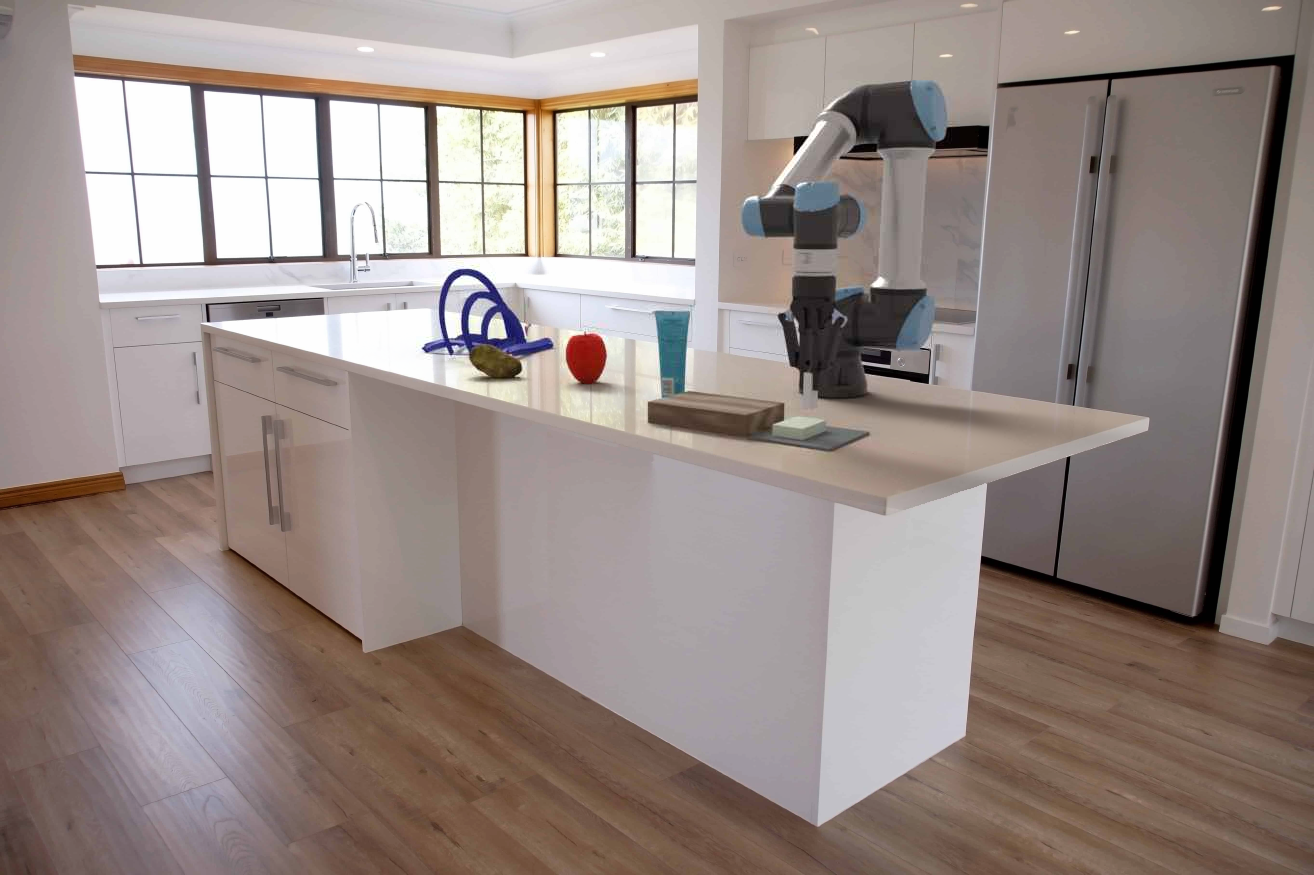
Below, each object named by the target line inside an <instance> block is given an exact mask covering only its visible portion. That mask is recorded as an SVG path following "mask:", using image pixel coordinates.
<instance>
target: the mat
mask: <svg viewBox="0 0 1314 875" xmlns="http://www.w3.org/2000/svg"><path fill="white" fill-rule="evenodd" d="M772 429H773V428H770V429H767V430H764V431H761V432H759V433H756V434H753V435H750V436H747V439H748V440H749V439H750V440H754V441H760V442H765V443H766V442H767V443H771V444H772V443H773V444H780V445H787V446H793V447H800V448H806V449H812V450H821V451H826V452H832V451H833V450H836V449H839V448H840V447H843V446H845V445H847V444H849V443H851V442H855V441H856V440H859V439H861V438H863V437H866V436H868V435H870V433H871V432H870V431H868V430H867V431H866V430H860V429H854V428H853V429H852V428H845V427H844V428H843V427H836V426H831V425H830V426H829V425H826V431H824V432H822V433H819V434H817V435H814V436H811V437H809V438H806V439H804V440H799V439H792V438H785V437H779V436H772Z"/></svg>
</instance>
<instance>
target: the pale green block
mask: <svg viewBox="0 0 1314 875" xmlns="http://www.w3.org/2000/svg"><path fill="white" fill-rule="evenodd" d="M826 426H827V420H826V419H821V418H820V419H819V418H813V417H805V416H799V415H796V416H793V417H790V418H788V419H784V421H782V422H779V423H776V424H773V429H772V436H779V437H785V438H792V439H799V440H804V439H806V438H809V437H811V436H814V435H817V434H819V433H822V432H824V431H826Z"/></svg>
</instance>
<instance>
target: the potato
mask: <svg viewBox="0 0 1314 875" xmlns="http://www.w3.org/2000/svg"><path fill="white" fill-rule="evenodd" d="M468 358H469V361H470V363H471V364H472V366H473V367H474V368H475V369H476V370H477V371H479V372H482V373H484V374H485V375H487V376H488V377H491V378H494V379H506V378H514V377H516V376H518V375H520V374H521V373H522V372H523V365H522V362H521V361H520V360H519V358H516V356H512V354H507V353H505V352H503V351H502V350H500V349H498V348H496V347H495V346H493V345H488V344H480V345H477V346H475V347H474V348H472V349H471V350H470V352H469V351H468Z"/></svg>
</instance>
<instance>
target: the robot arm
mask: <svg viewBox="0 0 1314 875" xmlns="http://www.w3.org/2000/svg"><path fill="white" fill-rule="evenodd" d="M947 128H948V110H947V104H946V100H945V95H944V93H943V90H942V88H941V87H940V85H939V84H938V83H936V82H935V81H933V80H909V81H898V82H886V83H885V82H884V83H876V84H869V83H868V84H863V85H860V86H856V87H854V88H852V89H850V90H848V91H846V92H844V93H843V94H841V95H840V96H838V97H837V98H835V99H834V100H832V101H831V102H830V103H829V104H827V106H826V107H824V108H823V110H821V112H820V113H819V114H818V115H817V117H816V118H815V119H814V121H813V123H812V125H811V133H810V134H809V136H808V137H807V138H806V140H804V142H803V144H802V145H801V146H800V148H799V149H798V150H797V152H796V153H795V154H794V156H793V157H792V158H791V160H790V161H789V163H788V164H787V165H786V167H785V168H784V169H783V170H782V172H781V173H780V175H779V176H778V178H777V179H776V180H775V181H774V183H773V185H771V187H770V188H769V190H768V191H767V192H766V194H765V195H761V194H758V195H753V196H752V195H751V196H750V197H747V198H746V199H745V200H744V202H743V203H742V204H743V205H742V208H741V213H740V215H741V224H742V228H743V230H744V232H745V233H746V234H747V235H748V236H750V237H761V238H765V239H767V238H793V244H792V245H793V246H792V247H793V248H792V251H793V253H792V271H793V272H794V273H795V274H793V277H792V279H791V281H792V282H791V297H792V300H791V302H790V304H789V308H788V309H787V310H785V311H784V312H779V313H778V314H777V318H778V320H779V323H780V324H781V326H782V329H783V330H782V331H783V335H784V342H785V347H786V352H787V358H788V362H789V366H790V367H791V368H795V369H797V370H798V372H799V380H798V393H800V394H802V409H803V410H813V409H816V408H818V400H819V399H818V398H829V399H830V398H833V399H835V398H836V399H839V398H841V399H843V398H856V397H862V396H865V395H867V393H868V384H869V383H868V381H867V380H868V379H867V376H866V373H865V369H864V365H863V362H862V356H861V355H862V348H865V349H866V348H867V349H877V350H878V349H880V350H881V349H882V350H894V351H897V352H901V351H917V350H919V349H921V348H923V347H924V345H925V344H926V343H927V341H928V340H929V337H930V334H931V332H932V329H933V326H934V321H935V317H936V316H935V315H936V300H935V299H934V297H933V296H932V295H931V294H927V290H928V289H927V284H925V283H924V281H923V280H922V279H921V266H922V251H923V250H922V249H923V234H924V232H923V231H924V230H923V229H924V218H925V217H924V214H925V198H926V182H927V181H926V180H927V177H926V176H927V166H928V165H927V164H928V159H929V158H930V157H931V156H932V155H933V154H934V152H936V147H937V146H936V144H937V142H940V141H943V140H944V139H945V137H946V134H947ZM863 144H871V145H872V144H877V145H876V152H877V153H878V155H879V156H880V157H881V158H882V159H883V170H882V172H883V174H882V189H881V190H882V191H881V192H882V194H881V212H880V229H879V231H880V233H879V251H878V252H879V253H878V272H877V278H876V279H875V280H874V281H873V283H871V284H870V285H869V287H870V288H869V293H866V292H865V289H864V287H863V285H861V286H857V285H856V286H848V287H847V286H846V287H838V288H837V276H836V275H834V273H836V272H837V270H838V268H837V266H838V240H839V239H848V238H851V237H852V236H855V235H857V234H859V233H860V232H861V231H862V230H863V228H864V226H865V224H866V221H867V209H866V206H865V204H864V202H863V201H862V200H860V199H859V198H858V197H856V196H853V195H850V194H848V193H845V194H840V186H839V184H838V183H837V182H835V181H825V179H826V178H827V176H828V175H829V173H830V172H831V171H832V170H833V168H834V166H835V165H836V163H837V162H838V161H839V159H840V158H841V156H842V155H845V154H847V153H849V152H850V151H851V150H852V149H853V148H854V146H858V145H863ZM795 320H796V322H797V323H798V326H797V327H798V329H797V327H796V323H795ZM797 330H798V332H797ZM798 333H799V338H798Z"/></svg>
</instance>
